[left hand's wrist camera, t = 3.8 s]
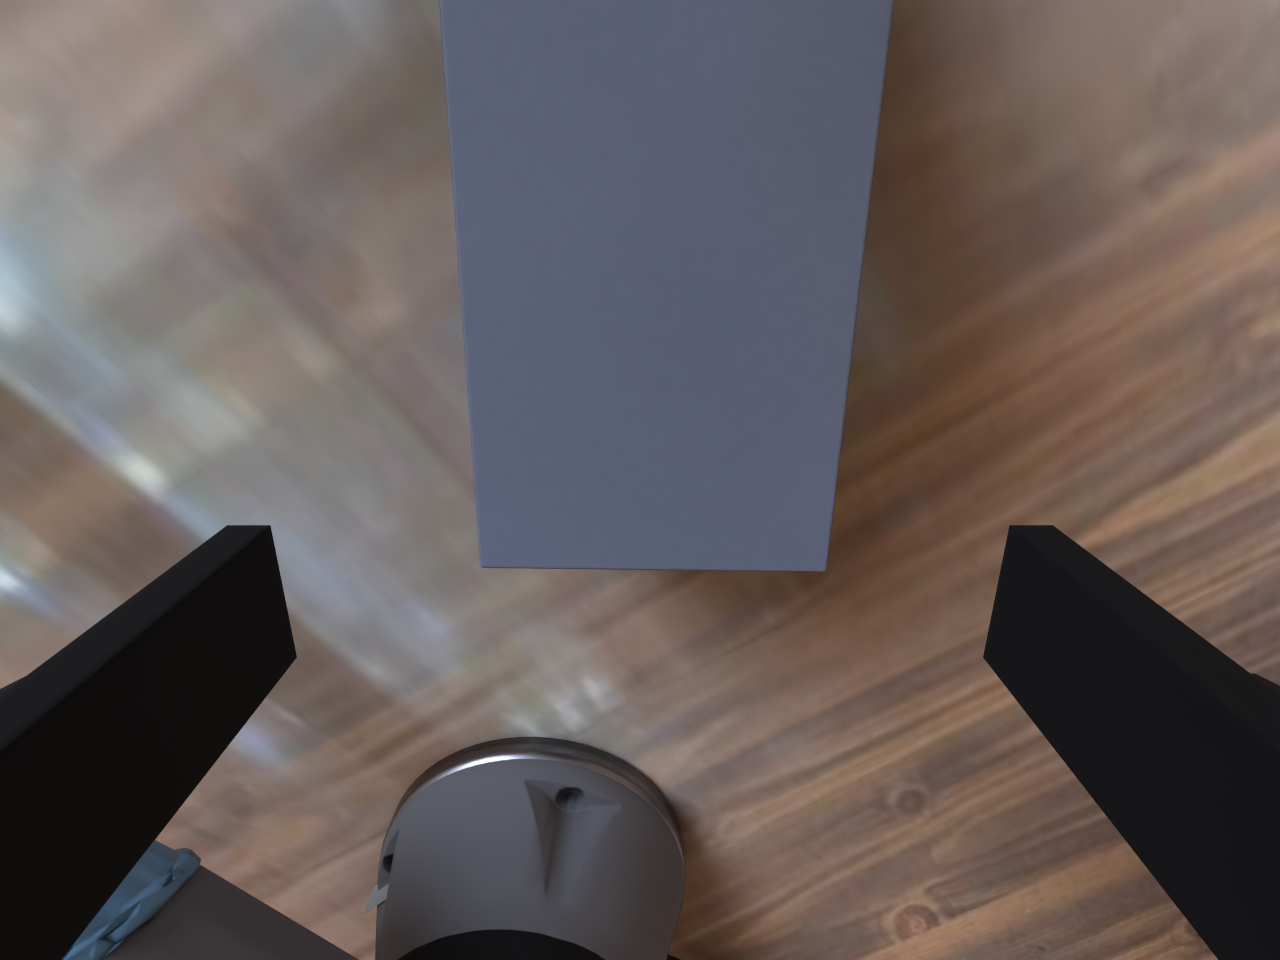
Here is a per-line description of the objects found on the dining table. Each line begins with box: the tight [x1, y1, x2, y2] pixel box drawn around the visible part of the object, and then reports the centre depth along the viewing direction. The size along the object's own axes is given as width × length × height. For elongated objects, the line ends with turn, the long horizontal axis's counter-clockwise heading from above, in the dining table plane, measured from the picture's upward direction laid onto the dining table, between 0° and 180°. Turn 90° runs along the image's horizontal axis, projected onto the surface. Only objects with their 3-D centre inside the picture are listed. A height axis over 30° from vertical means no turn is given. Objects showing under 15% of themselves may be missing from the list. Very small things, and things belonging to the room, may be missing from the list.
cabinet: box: [439, 0, 894, 572], centre depth 21 cm, size 21×10×10 cm, turn 179°
